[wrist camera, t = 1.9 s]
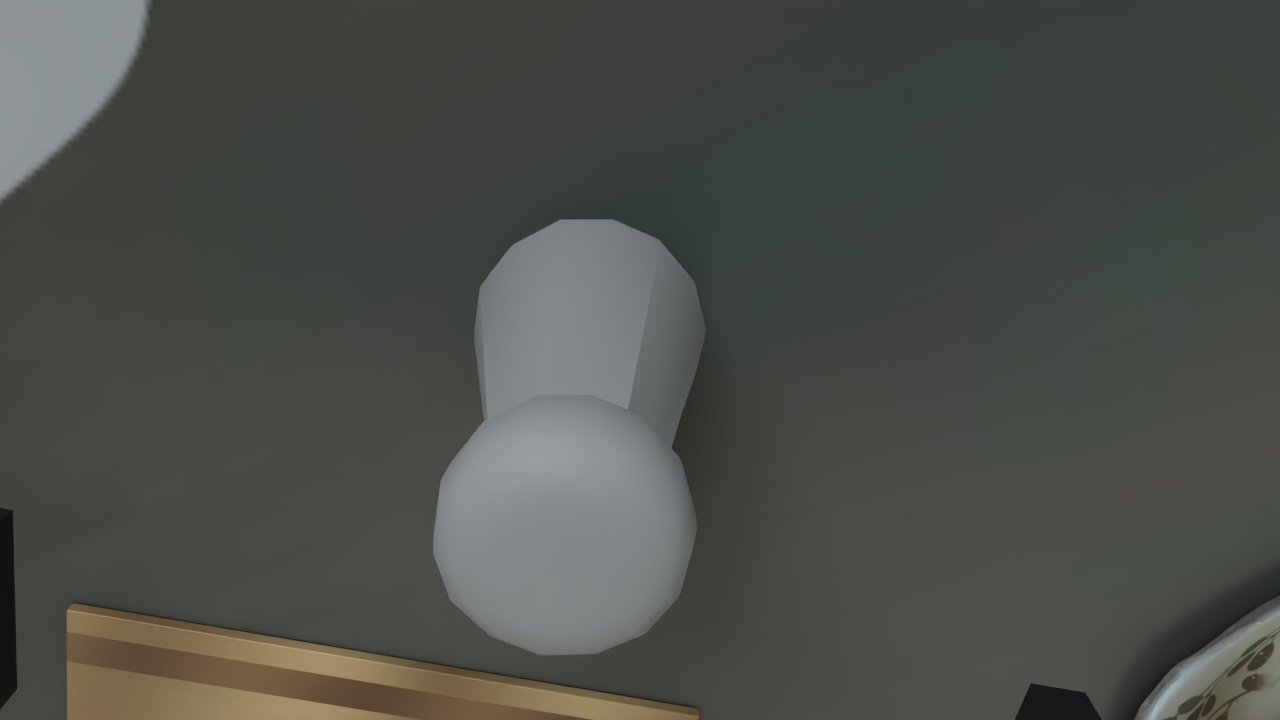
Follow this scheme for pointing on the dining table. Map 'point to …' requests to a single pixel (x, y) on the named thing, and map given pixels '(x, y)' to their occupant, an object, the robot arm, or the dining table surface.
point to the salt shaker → (575, 443)
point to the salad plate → (1225, 675)
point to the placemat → (296, 680)
